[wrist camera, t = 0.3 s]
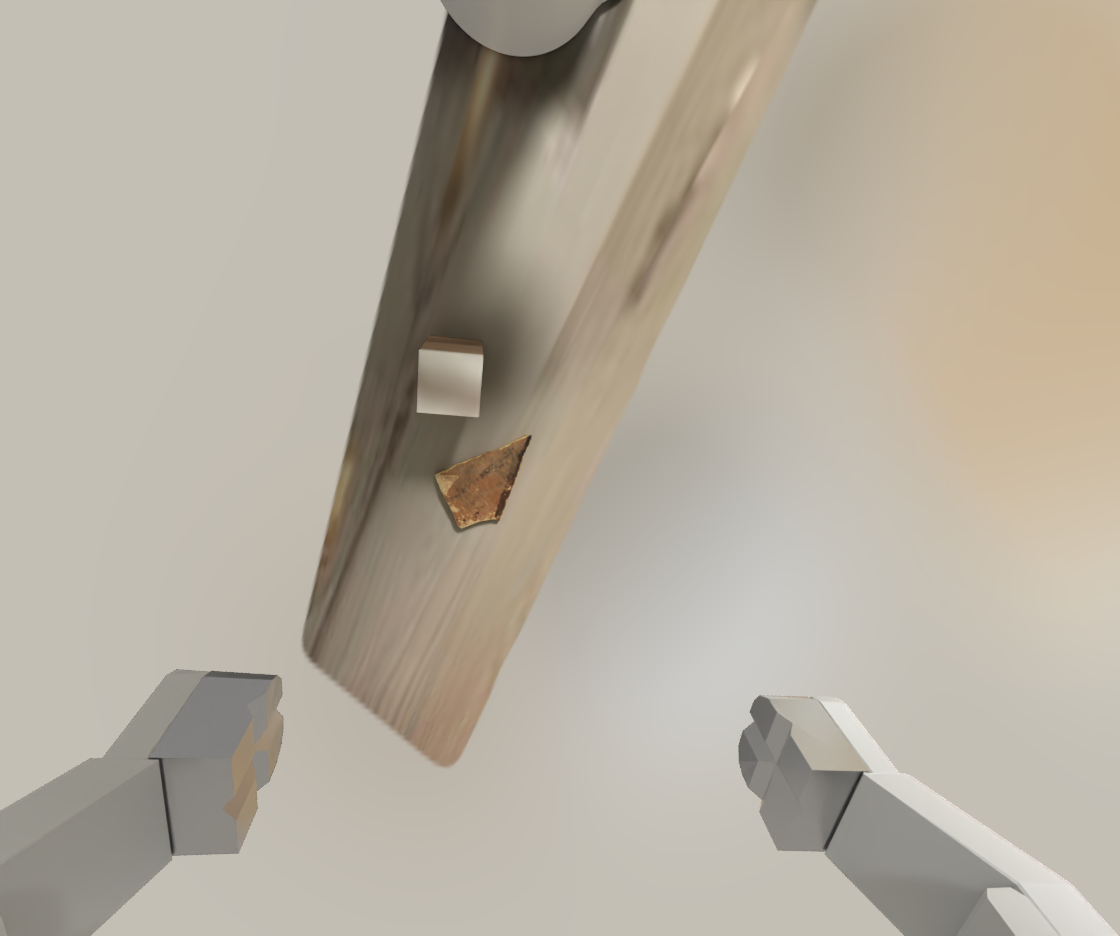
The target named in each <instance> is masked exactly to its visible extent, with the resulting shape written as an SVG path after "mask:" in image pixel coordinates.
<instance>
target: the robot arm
mask: <svg viewBox="0 0 1120 936" xmlns="http://www.w3.org/2000/svg"><path fill="white" fill-rule="evenodd" d="M605 1H607V0H441V2H442V3H443V5H444V7H445V8H446V10H447V11H448V13H449V14H450V16H451V17H452V18H453V19H454V21H455V22H456V23H457V24H458V25H459V26H460V27H461V28H462V29H463V30H464V31H465V32H466V33H467V34H468V35H469V36H471V37H472V38H473V39H474V40H476V41H477V42H479V43H480V44H482V45H484V46H485V47H487V48H489V49H492V50H494V51H496V52H499V53H502V54H506V55H511V56H521V57H525V56H536V55H541V54H544V53H547V52H550V51H552V50H554V49H557V48H559V47H560V46H562V45H563V44H565V43H566V42H568V41H569V40H570V39H571V38H573V37H574V36H575V35H576V34H577V33H578V32H579V31H580V30H581V28H582V27H583V26H584V25H585V23H586V22H587V21H588V19H589V18H590V17H591V15H592V14H593V12H594V11H595V10H596V9H597V8H598V7H599V6H600V5H601V4H602V3H603V2H605ZM281 697H282V681H281V678H280V677H279V676H277V675H265V674H249V673H234V672H219V671H211V672H206V671H192V670H179V669H176V670H174V671H173V672H171V673H170V674H168V675H167V676H165V678H164V679H163V680H162V682H161V683H160V684H159V686H158V687H157V688H156V689H155V691H154V692H153V693H152V694H151V696H150V697H149V699H148V700H147V701H146V702H145V704H144V705H143V706H142V707H141V709H140V710H139V711H138V713H137V714H136V715H135V716H134V718H133V719H132V720H131V722H130V723H129V724H128V726H127V727H126V728H125V729H124V731H123V732H122V733H121V735H120V736H119V737H118V739H117V740H116V741H115V742H114V744H113V745H112V746H111V748H110V749H109V750H108V751H107V753H106V754H105V756H104V757H103V758H90V759H88V760H87V761H85V762H83V763H81V764H80V765H78V766H77V767H75V768H73V769H71V770H69V771H68V772H66V773H64V774H63V775H61V776H59V777H58V778H56V779H54V780H52V781H51V782H49V783H47V784H45V785H44V786H42V787H40V788H39V789H37V790H35V791H33V792H32V793H30V794H28V795H27V796H25V797H23V798H21V799H20V800H18V801H16V802H15V803H13V804H11V805H9V806H8V807H6V808H4V809H3V810H1V811H0V936H91V935H92V934H93V933H94V932H95V931H96V930H97V929H98V928H99V927H101V926H102V925H103V924H104V923H105V922H106V921H107V920H108V919H109V918H110V917H111V916H112V915H113V914H114V913H116V912H117V911H118V910H119V909H120V908H121V907H122V906H123V905H124V904H125V903H126V902H127V901H128V900H129V899H131V898H132V897H133V896H134V895H135V894H136V893H137V892H138V891H139V890H140V889H141V888H142V887H143V886H145V885H146V883H148V882H149V881H150V880H151V879H152V878H153V877H154V876H155V875H156V874H157V873H158V872H160V870H162V869H163V868H164V867H165V866H166V865H167V864H168V863H169V862H170V861H171V860H172V856H177V855H178V856H179V855H204V854H205V855H207V854H236V853H239V851H240V849H241V846H242V844H243V842H244V840H245V837H246V835H247V832H248V830H249V827H250V826H251V823H252V821H253V818H254V816H255V814H256V812H257V808H258V807H257V791H258V790H259V789H260V788H261V787H263V786H264V785H265V784H266V783H268V782H269V781H270V778H271V776H272V773H273V771H274V768H275V765H276V763H277V759H278V755H279V752H280V748H281V744H282V736H283V716H282V715H281V714H280V713H279V712H278V711H277V709H276V707H277V705H278V703H279V701H280V699H281ZM750 714H751V716H752V717H753V720H754V722H753V723H752V724H751V725H749V726H748V727H747V728H746V729H745V730H743V732H742V736H741V739H740V742H739V764H740V768H741V772H742V775H743V777H744V780H745V782H746V784H747V786H748V788H749V789H750V790H751V791H752V792H754V793H755V794H756V795H757V796H758V797H759V798H761V799H762V803H761V807H760V814H761V816H762V818H763V820H764V823H765V824H766V827H767V829H768V831H769V833H770V835H771V837H772V839H773V842H774V844H775V846H776V848H777V850H782V851H819V852H826V853H825V855H826V856H827V857H828V858H829V859H830V860H831V861H832V862H833V864H835V866H836V867H837V868H838V869H839V870H840V871H841V872H842V873H844V875H845V876H846V877H847V878H848V879H849V880H850V881H851V882H852V883H853V884H854V885H855V886H856V887H857V888H858V889H859V890H860V891H861V892H862V893H863V894H864V895H865V896H866V897H867V898H868V899H869V900H870V901H871V902H872V903H873V904H874V905H875V906H876V907H877V908H878V909H879V910H880V911H881V912H882V913H883V914H884V915H885V916H886V917H887V918H888V919H889V921H891V923H892V924H893V925H894V926H896V928H897V929H899V931H900V932H902V934H903V935H904V936H1118V935H1117V933H1116V932H1115V931H1114V930H1113V929H1112V928H1111V927H1110V926H1109V925H1108V923H1107V922H1106V921H1105V920H1104V919H1103V918H1102V917H1101V916H1100V915H1099V914H1098V913H1097V912H1096V910H1095V909H1094V908H1093V907H1092V906H1091V905H1090V904H1089V903H1088V901H1087V900H1086V899H1085V898H1084V897H1083V896H1082V895H1081V894H1080V893H1079V891H1078V890H1077V889H1076V888H1075V887H1074V886H1073V885H1072V884H1071V883H1069V882H1068V881H1066V880H1065V879H1063V878H1062V877H1060V876H1059V875H1058V874H1056V873H1055V872H1053V871H1051V870H1050V869H1049V868H1047V867H1045V866H1044V865H1043V864H1041V863H1040V862H1038V861H1037V860H1035V859H1034V858H1032V857H1031V856H1029V855H1028V854H1026V853H1025V852H1023V851H1021V850H1020V849H1019V848H1017V847H1016V846H1014V845H1013V844H1011V843H1010V842H1008V841H1007V840H1005V839H1004V838H1002V837H1001V836H1000V835H998V834H997V833H995V832H994V831H992V830H991V829H989V828H988V827H986V826H984V825H983V824H982V823H980V822H979V821H977V820H976V819H974V818H973V817H971V816H970V815H968V814H967V813H965V812H964V811H962V810H961V809H959V808H958V807H956V806H955V805H953V804H952V803H950V802H949V801H948V800H946V799H944V798H943V797H941V796H940V795H939V794H937V793H936V792H934V791H933V790H931V789H930V788H928V787H927V786H925V785H924V784H922V783H921V782H919V781H918V780H916V779H914V778H913V777H912V776H910V775H909V774H901V773H899V772H898V771H897V769H896V768H895V767H894V765H893V764H892V763H891V762H890V760H889V759H888V758H887V756H886V755H885V754H884V753H883V751H882V750H881V749H880V747H879V746H878V745H877V743H876V742H875V741H874V740H873V738H872V737H871V736H870V735H869V733H868V732H867V731H866V729H865V728H864V727H863V725H862V724H861V723H860V721H859V720H858V719H857V718H856V716H855V715H854V714H853V713H852V711H851V710H850V709H849V707H848V706H847V705H846V704H845V703H844V702H843V701H841V700H840V699H839V698H836V697H795V696H765V695H760V696H758V697H757V698H756V699H755V700H754V702H753V705H752V707H751V710H750Z"/></svg>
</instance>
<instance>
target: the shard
mask: <svg viewBox="0 0 1120 936" xmlns="http://www.w3.org/2000/svg"><path fill="white" fill-rule="evenodd" d="M531 436H532V435H530V436H527V435H525V436H523V437H521V438H519V439H517V440H514V441H513V442H511V443H509V444H507V445H506V446H504V447H502V448H500V449H497V450H494V451H489V452H486V453H484V454H481V455H480V456H477V457H474V458H471V459H469V460H467V461H465V462H461V463H458V464H455V465H453V466H452V467H450V468H449V469H446V470H443V471H441V472H439V473H437V474H435V478H436V480H437V483H438V485H439V487H440V490H441V492H442V494H443V496H444V498H445V500H446V502H447V503H448V504H449V507H450V509H451V511H452V513H453V515H454V517H455V521H456V524H457V525H458V526H459V527H460V528H464V527H467V526H469V525H472V524H475V523H477V522H481V521H487V520H492V519H495V520H500V519H501V515H502V513H503V510H504V508H505V506H506V502H507V499H508V497H509V495H510V492H511V489H512V487H513V485H514V483H515V480H516V477H517V475H518V472H519V469H520V467H521V463H522V459H523V456H524V453H525V451H526V448H527V447H528V445H529V442H530V440H531Z"/></svg>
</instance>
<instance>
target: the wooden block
mask: <svg viewBox="0 0 1120 936" xmlns="http://www.w3.org/2000/svg"><path fill="white" fill-rule="evenodd" d="M482 369H483V347H482V341H477V340H467V339H458V338H448V337H439V336H428V338H427V339H426V341H425V342H424V343H423V345H422V346H421V348H420V349H419V363H418V389H417V412H418V413H430V414H443V415H455V416H468V417H479V409H480V396H481V382H482Z"/></svg>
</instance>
